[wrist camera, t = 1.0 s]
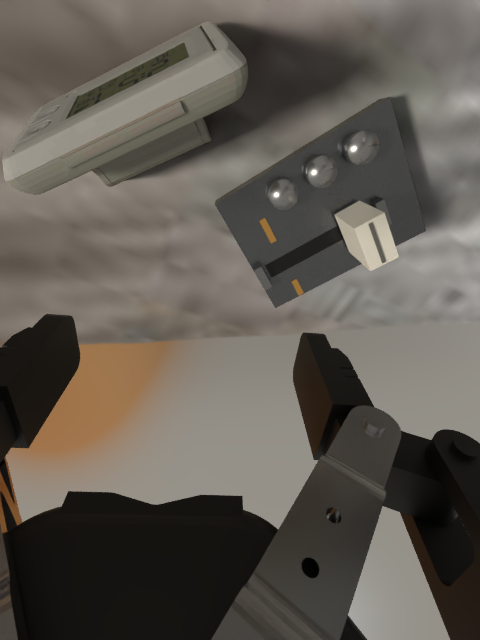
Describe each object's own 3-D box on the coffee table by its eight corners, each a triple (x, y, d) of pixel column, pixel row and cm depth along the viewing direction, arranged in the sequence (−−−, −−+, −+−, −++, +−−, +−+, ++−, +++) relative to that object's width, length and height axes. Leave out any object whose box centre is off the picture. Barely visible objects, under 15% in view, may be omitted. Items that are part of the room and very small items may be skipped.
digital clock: (229, 22, 24) (235, -48, 15) (248, 155, 29) (262, 165, 19) (21, 67, 25) (-96, 28, 16) (72, 191, 29) (5, 217, 20)
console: (379, 99, 27) (400, 94, 24) (414, 225, 32) (435, 235, 29) (215, 200, 30) (214, 208, 27) (272, 299, 36) (277, 315, 33)
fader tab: (359, 200, 28) (385, 212, 24) (373, 239, 30) (399, 257, 26) (334, 214, 29) (354, 229, 25) (349, 252, 31) (370, 271, 26)
